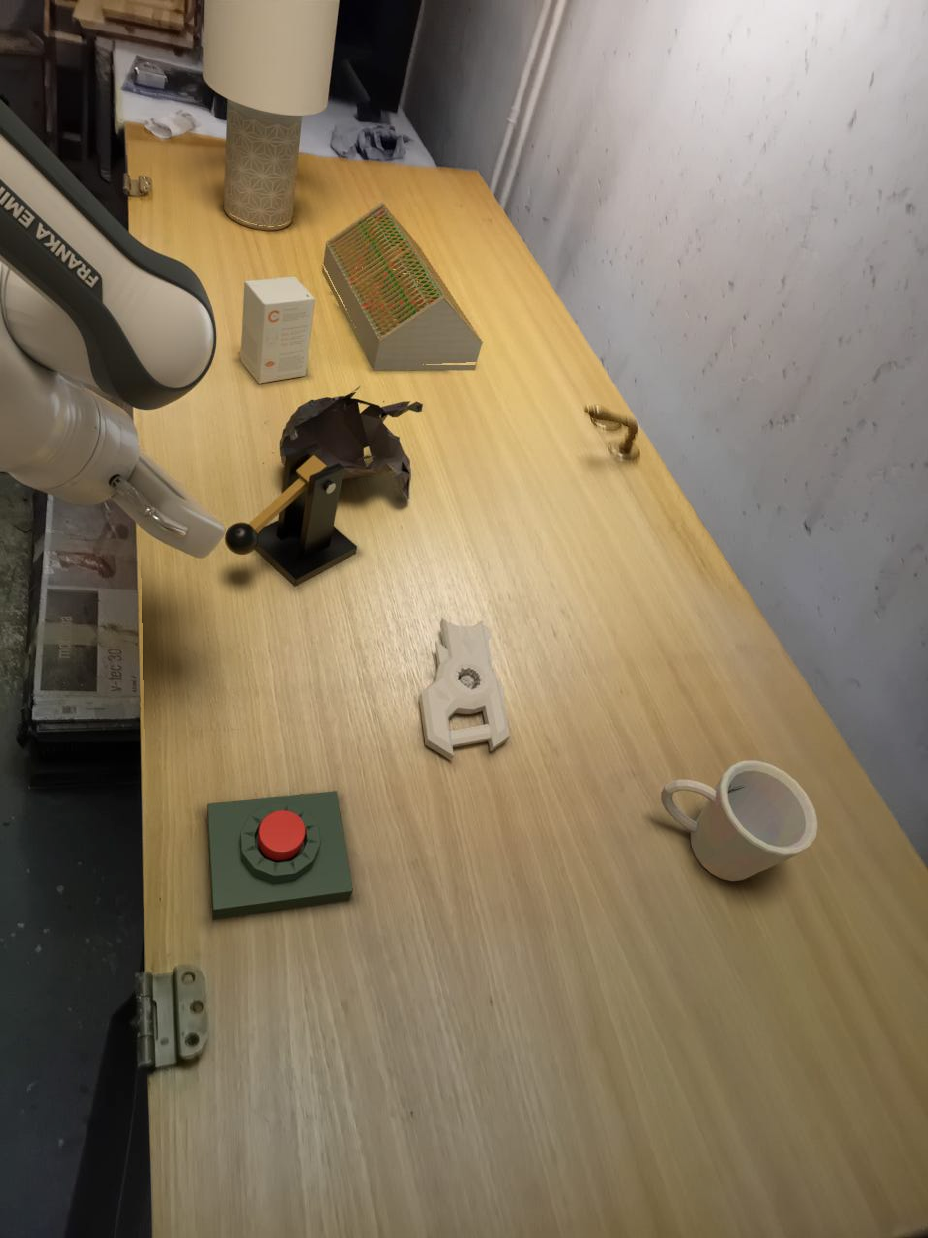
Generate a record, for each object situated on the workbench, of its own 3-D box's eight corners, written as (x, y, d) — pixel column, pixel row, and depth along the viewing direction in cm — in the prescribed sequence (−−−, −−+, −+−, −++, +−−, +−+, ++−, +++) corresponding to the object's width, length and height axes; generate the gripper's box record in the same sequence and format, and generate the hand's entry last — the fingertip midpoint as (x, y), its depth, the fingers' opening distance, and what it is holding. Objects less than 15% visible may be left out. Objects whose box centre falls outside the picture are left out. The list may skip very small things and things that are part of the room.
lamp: (316, 250, 152) (350, -21, 121) (200, 231, 145) (204, -59, 115) (309, 199, 164) (338, -57, 134) (201, 180, 158) (206, -94, 128)
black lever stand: (295, 586, 97) (308, 500, 87) (246, 541, 100) (253, 452, 90) (356, 553, 104) (374, 469, 94) (308, 511, 106) (322, 425, 96)
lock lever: (245, 566, 92) (234, 552, 88) (225, 547, 93) (213, 532, 89) (336, 482, 94) (329, 466, 91) (315, 464, 96) (308, 447, 92)
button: (259, 863, 71) (261, 855, 70) (255, 821, 73) (257, 812, 72) (305, 858, 72) (308, 849, 71) (300, 816, 75) (302, 807, 74)
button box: (212, 920, 71) (213, 902, 68) (206, 814, 76) (207, 793, 74) (349, 900, 75) (356, 882, 72) (334, 801, 81) (339, 781, 78)
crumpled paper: (393, 440, 119) (254, 447, 112) (412, 359, 108) (257, 360, 100) (419, 513, 112) (272, 524, 105) (441, 434, 101) (278, 441, 94)
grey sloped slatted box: (477, 370, 139) (499, 298, 129) (373, 370, 131) (388, 294, 121) (418, 276, 155) (433, 206, 146) (322, 271, 147) (331, 197, 138)
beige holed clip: (413, 610, 95) (494, 614, 98) (406, 627, 97) (485, 631, 100) (433, 750, 84) (523, 750, 87) (425, 766, 87) (512, 765, 90)
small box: (286, 353, 128) (295, 274, 118) (306, 376, 125) (316, 298, 116) (238, 360, 124) (243, 279, 114) (257, 385, 121) (264, 303, 111)
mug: (766, 910, 85) (821, 870, 78) (633, 858, 85) (675, 813, 78) (767, 824, 92) (816, 780, 85) (644, 777, 92) (683, 729, 85)
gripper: (183, 491, 62) (272, 535, 76) (33, 350, 69) (140, 413, 82) (132, 555, 63) (230, 588, 76) (-13, 409, 69) (101, 462, 82)
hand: (182, 496), depth 79 cm, fingers closed
